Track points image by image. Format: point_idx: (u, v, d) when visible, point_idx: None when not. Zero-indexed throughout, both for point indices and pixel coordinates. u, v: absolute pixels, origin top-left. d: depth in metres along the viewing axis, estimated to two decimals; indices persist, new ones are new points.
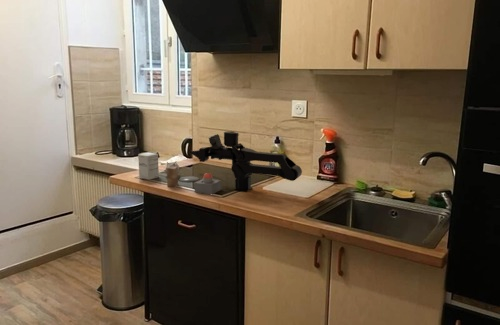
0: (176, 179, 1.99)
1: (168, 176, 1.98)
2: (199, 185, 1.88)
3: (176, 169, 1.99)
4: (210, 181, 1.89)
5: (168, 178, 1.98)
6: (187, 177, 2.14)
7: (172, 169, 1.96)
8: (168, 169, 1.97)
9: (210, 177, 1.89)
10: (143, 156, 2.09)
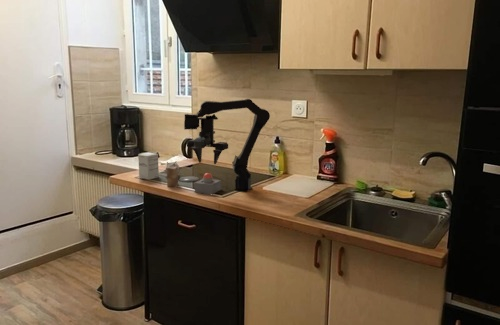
0: (176, 179, 1.99)
1: (168, 176, 1.98)
2: (199, 185, 1.88)
3: (176, 169, 1.99)
4: (210, 181, 1.89)
5: (168, 178, 1.98)
6: (187, 177, 2.14)
7: (172, 169, 1.96)
8: (168, 169, 1.97)
9: (210, 177, 1.89)
10: (143, 156, 2.09)
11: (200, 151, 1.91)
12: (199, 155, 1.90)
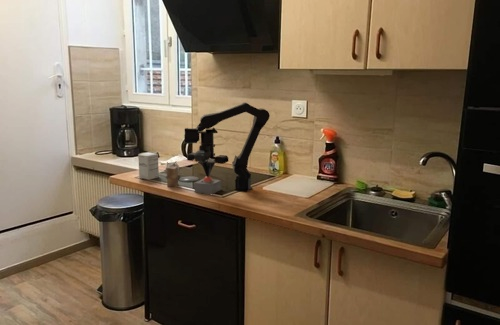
0: (176, 179, 1.99)
1: (168, 176, 1.98)
2: (199, 185, 1.88)
3: (176, 169, 1.99)
4: None
5: (168, 178, 1.98)
6: (187, 177, 2.14)
7: (172, 169, 1.96)
8: (168, 169, 1.97)
9: (210, 180, 1.89)
10: (143, 156, 2.09)
11: None
12: None
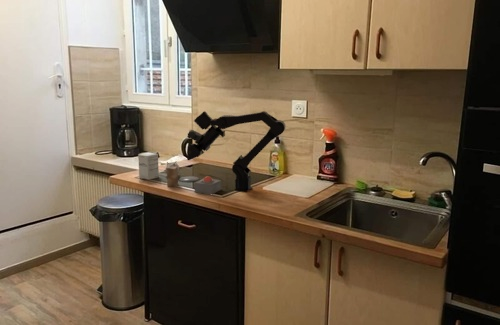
0: (176, 179, 1.99)
1: (168, 176, 1.98)
2: (199, 185, 1.88)
3: (176, 169, 1.99)
4: None
5: (168, 178, 1.98)
6: (187, 177, 2.14)
7: (172, 169, 1.96)
8: (168, 169, 1.97)
9: (210, 180, 1.89)
10: (143, 156, 2.09)
11: None
12: None
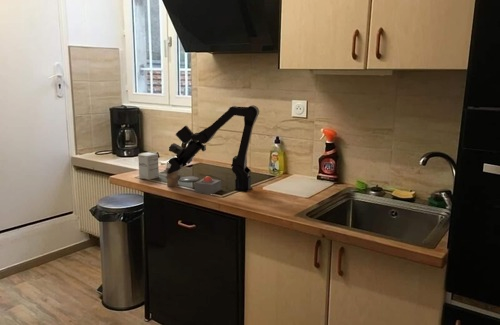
0: (176, 179, 1.99)
1: (168, 176, 1.98)
2: (199, 185, 1.88)
3: None
4: None
5: (168, 178, 1.98)
6: (187, 177, 2.14)
7: None
8: (168, 169, 1.97)
9: (210, 180, 1.89)
10: (143, 156, 2.09)
11: None
12: None
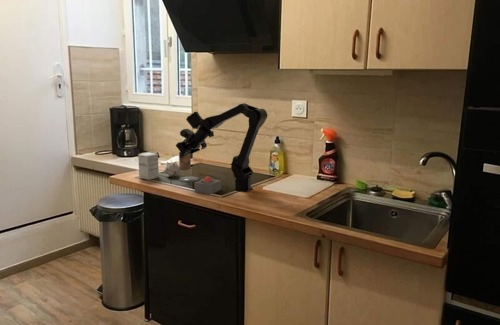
0: (188, 163, 2.07)
1: (180, 159, 2.06)
2: (199, 185, 1.88)
3: (188, 154, 2.06)
4: None
5: (180, 162, 2.06)
6: (187, 177, 2.14)
7: None
8: None
9: (210, 180, 1.89)
10: (143, 156, 2.09)
11: (192, 150, 2.07)
12: None
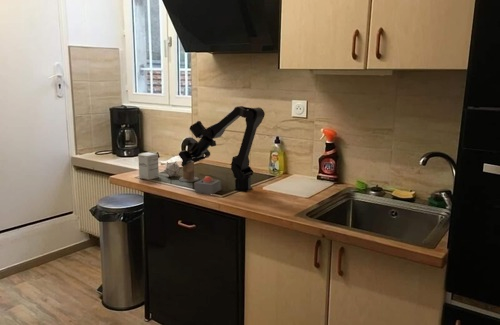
0: (191, 173, 2.10)
1: (184, 169, 2.09)
2: (199, 185, 1.88)
3: (191, 163, 2.09)
4: None
5: (184, 171, 2.10)
6: None
7: None
8: None
9: (210, 180, 1.89)
10: (143, 156, 2.09)
11: (197, 158, 2.11)
12: (193, 159, 2.12)
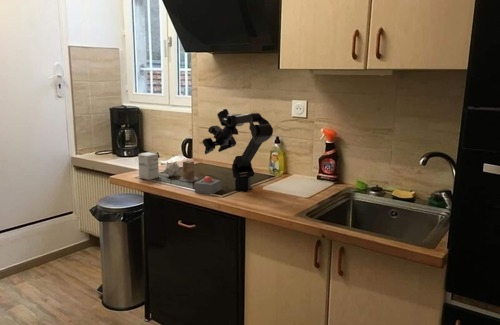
0: (191, 173, 2.10)
1: (184, 169, 2.09)
2: (199, 185, 1.88)
3: (191, 163, 2.09)
4: None
5: (184, 171, 2.10)
6: None
7: (187, 163, 2.08)
8: (184, 163, 2.09)
9: (210, 180, 1.89)
10: (143, 156, 2.09)
11: (224, 147, 2.12)
12: (221, 147, 2.13)
